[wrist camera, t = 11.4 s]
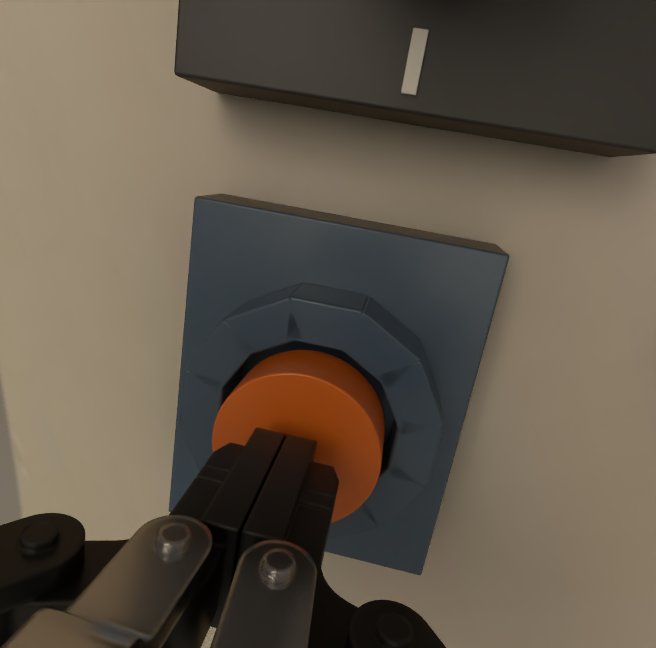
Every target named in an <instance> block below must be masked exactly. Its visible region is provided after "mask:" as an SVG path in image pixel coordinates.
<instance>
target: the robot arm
mask: <svg viewBox="0 0 656 648" xmlns="http://www.w3.org/2000/svg"><path fill="white" fill-rule="evenodd" d="M316 448H317V441H315V440H311V439H306V438H302V437H298V436H294V435H289V434H288V435H287V437H286V434H285V433H280V432H276V431H272V430H267V429H263V428H259V427H256V429H255V430H254V432H253V433H252V435H251V437H250V438H249V440H248V441H247V443H246V445H245V446H244V445H240V444H235V443H231V442H230V443H228V444H226V445H225V446H223V447H221V448H219V449H217V450H216V451H214V452H213V454H212V455H211V456H210V458H209V459H208V461H207V462H206V463H205V466H204V467H203V468H202V469H201V471H200V472H199V473H198V475H197V478H195V479H194V480H193V482H192V483H191V485H190V486H189V487H188V489H187V490H186V492H185V493H184V495H183V496H182V497H181V499H180V500H179V502H178V503H177V504H176V506H175V507H174V509H173V510H172V511H171V513H170V514H169V515H168V516H162V517H159V518H156V519H153V520H151V521H149V522H147V523H146V524H144V525H143V526H142V527H141V528H139V529H138V530H137V532H136V533H135V534H134V535H133V536H132V537H131V538H130V539H128V540H118V541H85V529H84V527H83V525H82V524H81V523H80V522H79V521H78V520H77V519H75V518H73V517H71V516H68V515H65V514H59V513H44V514H38V515H33V516H29V517H26V518H23V519H20V520H16V521H13V522H10V523H7V524H4V525H1V526H0V648H200V647H201V646H202V644H203V641H204V639H205V637H206V634H207V632H208V630H209V628H210V626H211V627H215V628H217V629H216V632H215V635H214V638H213V641H212V644H211V647H210V648H446V647H445V646H444V644H443V643H442V642H441V640H440V639H439V638H438V637H437V635H436V634H435V633H434V631H433V630H432V629H431V628H430V626H429V625H428V624H427V622H426V621H425V620H424V619H423V618H422V617H421V616H420V615H419V614H418V613H416V612H415V611H414V610H412V609H411V608H409V607H407V606H405V605H403V604H401V603H398V602H395V601H390V600H374V601H370V602H368V603H365V604H363V605H362V606H361V607H359V608H358V607H356V606H354V605H352V604H351V603H349V602H347V601H346V600H344V599H343V598H341V597H340V596H339V595H337V594H336V593H335V592H334V591H333V590H332V589H331V588H330V587H329V585H328V584H327V582H326V580H325V578H324V576H323V573H322V570H321V565H322V561H323V556H324V552H325V547H326V543H327V539H328V534H329V529H330V524H331V519H332V515H333V510H334V505H335V500H336V495H337V490H338V485H339V479H338V477H337V474H336V472H335V469H334V467H333V466H329V465H325V464H320V463H316V462H314V459H315V453H316Z"/></svg>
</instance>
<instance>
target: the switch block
mask: <svg viewBox="0 0 656 648" xmlns="http://www.w3.org/2000/svg"><path fill="white" fill-rule="evenodd" d="M508 260H509V255H508V254H507V253H506V252H504V251H503V250H502V249H501V248H500V247H498V246H497V245H496V244H491V243H486V242H481V241H475V240H470V239H464V238H459V237H454V236H448V235H443V234H437V233H432V232H427V231H421V230H416V229H410V228H405V227H399V226H394V225H389V224H383V223H378V222H372V221H367V220H362V219H356V218H351V217H345V216H340V215H335V214H329V213H324V212H318V211H313V210H307V209H302V208H297V207H291V206H286V205H280V204H275V203H270V202H264V201H259V200H253V199H248V198H243V197H237V196H232V195H226V194H216V195H206V196H197V197H195V202H194V214H193V226H192V238H191V250H190V262H189V274H188V286H187V298H186V311H185V323H184V335H183V347H182V359H181V371H180V383H179V395H178V407H177V419H176V431H175V443H174V455H173V467H172V479H171V492H170V504H169V512H171V511H172V510H173V509H174V507H175V506H176V504H177V503H178V502H179V500H180V499H181V497H182V496H183V495H184V493H185V492H186V490H187V489H188V487H189V486H190V485H191V483H192V482H193V480H194V479H195V478H197V475H198V473H199V472H200V471H201V469H202V468H203V467H204V466H205V463H206V462H207V461H208V459H209V458H210V456H211V455H212V454H213V448H212V432H213V427H214V422H215V419H216V417H217V414H218V412H219V410H220V408H221V406H222V404H223V403H224V402H225V400H226V399H227V398H228V396H229V395H230V394H231V393H232V392H233V390H234V389H235V388H236V387H237V385H238V384H239V383H240V382H241V381H242V379H243V378H244V377H245V376H246V374H247V373H248V372H249V371H250V370H251V369H252V368H253V367H254V366H256V365H257V364H258V363H260V362H261V361H263V360H264V359H266V358H268V357H270V356H273V355H275V354H278V353H281V352H285V351H291V350H313V351H319V352H323V353H327V354H330V355H332V356H335V357H337V358H340V359H341V360H343V361H345V362H347V363H348V364H350V365H351V366H353V367H354V368H355V369H357V370H358V371H359V372H360V373H361V374H362V375H363V376H364V377H365V378H366V379H367V381H368V382H369V383H370V384H371V386H372V387H373V389H374V390H375V392H376V394H377V396H378V398H379V400H380V402H381V406H382V409H383V412H384V419H385V435H384V444H383V454H382V463H381V470H380V474H379V478H378V481H377V483H376V485H375V487H374V489H373V491H372V493H371V494H370V496H369V497H368V499H367V500H366V501H365V502H364V503H363V504H362V505H361V506H360V507H359V508H358V509H356V510H355V511H354V512H353V513H351V514H349V515H348V516H346V517H344V518H342V519H340V520H338V521H335V522H333V523H331V524H330V529H329V534H328V539H327V543H326V547H325V551H326V552H330V553H334V554H338V555H342V556H346V557H350V558H354V559H357V560H361V561H365V562H369V563H373V564H377V565H381V566H385V567H389V568H393V569H397V570H401V571H405V572H409V573H413V574H417V575H421V573H422V570H423V566H424V563H425V559H426V556H427V552H428V548H429V545H430V541H431V538H432V534H433V530H434V527H435V523H436V519H437V516H438V512H439V509H440V505H441V501H442V498H443V494H444V491H445V487H446V483H447V480H448V476H449V473H450V469H451V465H452V462H453V458H454V455H455V451H456V447H457V444H458V440H459V437H460V433H461V429H462V426H463V422H464V418H465V415H466V411H467V408H468V404H469V400H470V397H471V393H472V390H473V386H474V382H475V379H476V375H477V372H478V368H479V364H480V361H481V357H482V354H483V350H484V346H485V343H486V339H487V335H488V332H489V328H490V325H491V321H492V317H493V314H494V310H495V307H496V303H497V299H498V296H499V292H500V289H501V285H502V281H503V278H504V274H505V271H506V267H507V263H508Z"/></svg>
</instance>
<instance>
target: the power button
mask: <svg viewBox="0 0 656 648" xmlns="http://www.w3.org/2000/svg"><path fill="white" fill-rule="evenodd" d="M256 427H259V428H263V429H267V430H272V431H276V432H280V433H285V434H286V437H287V435H288V434H289V435H294V436H298V437H302V438H306V439H311V440H315V441H317V448H316V453H315V459H314V462H316V463H320V464H325V465H329V466H333V467H334V469H335V472H336V474H337V477H338V479H339V485H338V490H337V495H336V500H335V505H334V510H333V515H332V519H331V523H333V522H335V521H338V520H340V519H342V518H344V517H346V516H348V515H349V514H351V513H353V512H354V511H355V510H356V509H358V508H359V507H360V506H361V505H362V504H363V503H364V502H365V501H366V500H367V499H368V497H369V496H370V494H371V493H372V491H373V489H374V487H375V485H376V483H377V481H378V478H379V474H380V470H381V463H382V454H383V444H384V435H385V419H384V412H383V409H382V406H381V402H380V400H379V398H378V396H377V394H376V392H375V390H374V389H373V387H372V386H371V384H370V383H369V382H368V381H367V379H366V378H365V377H364V376H363V375H362V374H361V373H360V372H359V371H358V370H357V369H355V368H354V367H353V366H351V365H350V364H348V363H347V362H345V361H343V360H341V359H340V358H337V357H335V356H332V355H330V354H327V353H323V352H319V351H313V350H291V351H285V352H281V353H278V354H275V355H273V356H270V357H268V358H266V359H264V360H263V361H261V362H260V363H258V364H257V365H256V366H254V367H253V368H252V369H251V370H250V371H249V372H248V373H247V374H246V376H245V377H244V378H243V379H242V381H241V382H240V383H239V384H238V385H237V387H236V388H235V389H234V390H233V392H232V393H231V394H230V395H229V396H228V398H227V399H226V400H225V402H224V403H223V404H222V406H221V408H220V410H219V412H218V414H217V417H216V419H215V422H214V427H213V432H212V448H213V452H214V451H216V450H217V449H219V448H221V447H223V446H225V445H226V444H228V443H230V442H231V443H235V444H240V445H244V446H245V445H246V443H247V441H248V440H249V438H250V437H251V435H252V433H253V432H254V430H255V429H256Z"/></svg>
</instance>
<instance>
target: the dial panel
mask: <svg viewBox="0 0 656 648" xmlns="http://www.w3.org/2000/svg"><path fill="white" fill-rule="evenodd" d="M174 72H175V75H177V76H179V77H181V78H184V79H186V80H188V81H191V82H193V83H196V84H198V85H200V86H203V87H205V88H208V89H210V90H212V91H215V92H217V93H223V94H229V95H235V96H241V97H247V98H254V99H260V100H266V101H272V102H278V103H284V104H290V105H296V106H302V107H308V108H314V109H320V110H327V111H333V112H339V113H345V114H351V115H357V116H363V117H369V118H375V119H381V120H387V121H394V122H400V123H406V124H412V125H418V126H424V127H430V128H436V129H442V130H448V131H454V132H461V133H467V134H473V135H479V136H485V137H491V138H497V139H503V140H509V141H515V142H521V143H527V144H534V145H540V146H546V147H552V148H558V149H564V150H570V151H576V152H582V153H588V154H594V155H601V156H607V157H617V156H629V155H641V154H654V153H656V0H179V9H178V24H177V39H176V55H175V70H174Z"/></svg>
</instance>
